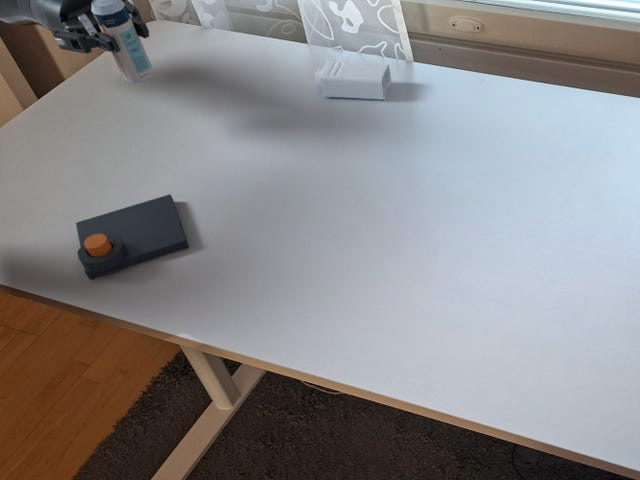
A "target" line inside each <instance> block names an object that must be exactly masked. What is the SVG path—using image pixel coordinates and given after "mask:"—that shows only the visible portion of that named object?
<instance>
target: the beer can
mask: <svg viewBox="0 0 640 480" xmlns="http://www.w3.org/2000/svg"><path fill="white" fill-rule="evenodd" d="M92 12H93V14H94V16H95V18H96V20H97V22H98V25H99V27H100V29H101V31H102V33H104V34H107V35H109V36H112V37H114V38H115V40H116V41H117V44H118V46H119V48H120V52H118V53H114V52H111V54H112V56H113V58H114V61H115V62H116V64H117V66H118V68H119V71H120V72H121V75H122V77H123V79H124V80H125V81H126V82H129V83H142V82H145V81H147V80H149V79H150V78H151V77H152V76H153V74H154V68H153V66H152V64H151V62H150V59H149V57H148V55H147V53H146V50H145V48H144V45H143V43H142V41H141V39H140V36H138V34H137V32H136V29H135V27H134V25H133V23H132V20H131V18H130V16H129V13H128V11H127V9H126V7H125V4H124V2H123V1H121V0H93V2H92Z"/></svg>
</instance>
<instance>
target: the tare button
mask: <svg viewBox="0 0 640 480" xmlns="http://www.w3.org/2000/svg"><path fill="white" fill-rule="evenodd" d="M84 246H85V247H86V249H87V250H88V252H89V253H90V255H91V256H93V257H100V256H104V255H106V254H107V253H109V252H110V251H111V250H112V245H111V244H110V242H109V241H108V239H107V237H106V236H105V235H103V234H95V235H92V236H90V237H88V238H87V239H86V240H85V242H84Z"/></svg>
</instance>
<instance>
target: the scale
mask: <svg viewBox="0 0 640 480" xmlns="http://www.w3.org/2000/svg"><path fill="white" fill-rule="evenodd" d="M75 225H76V232H77V237H78V242H79V249H78V250H77V257H78V260H79V261H80V263H81V265H82V266H83V269H84V274H85V275H86V276H87V278H88V279H89V280H93V279H97V278H99V277H102V276H105V275H107V274H110V273H114V272H118V271H121V270H124V269H126V268H129V267H133V266H135V265H138V264H141V263H144V262H148V261H151V260H154V259H157V258H161V257H164V256H167V255H170V254H173V253H177V252H180V251H182V250H184V249H188V248H190V245H189V242H188V238H187V237H186V233H185V230H184V227H183V224H182V221H181V217H180V216H179V213H178V209H177V206H176V204H175V200H174V198H173V197H172V194H166V195H163V196H159V197H157V198H153V199H150V200H146V201H143V202H139V203H137V204H133V205H129V206H126V207H123V208H119V209H115V210H112V211H110V212H107V213H103V214H100V215H96V216H93V217H90V218H85V219H83V220H80V221H76V222H75ZM95 234H103V235H105V236H106V237H107V239H108V241H109V242H110V244H111V245H112V250H111V251H110V252H109V253H107V254H106V255H104V256H100V257H93V256H91V255H90V253H89V252H88V250H87V249H86V247H85V246H84V242H85V240H86V239H87V238H88V237H90V236H92V235H95Z"/></svg>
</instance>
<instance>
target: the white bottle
mask: <svg viewBox="0 0 640 480" xmlns="http://www.w3.org/2000/svg"><path fill="white" fill-rule="evenodd" d="M391 75H392V74H391V69H390V64H389V63H379V62H378V63H377V62H360V61H346V60H345V61H344V60H333V59H328V60H327V61H326V63H325V65H324V66H323V68H318V69H317V70H316V71H315V77H314V80H315V84H316V86H317V87H318V88H321V90H322V91H321V92H322V96H323V97H324V98H343V99H345V98H347V99H363V100H383V101H385V100H386V98H387V94H388V91H389V89H390V86H391V84H392V76H391Z"/></svg>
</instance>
